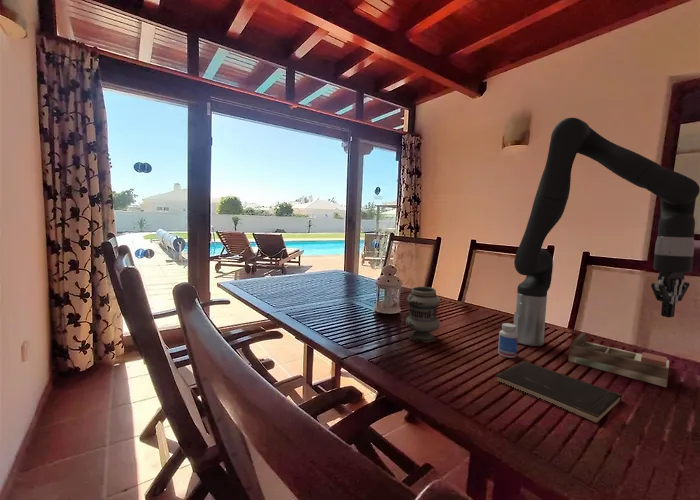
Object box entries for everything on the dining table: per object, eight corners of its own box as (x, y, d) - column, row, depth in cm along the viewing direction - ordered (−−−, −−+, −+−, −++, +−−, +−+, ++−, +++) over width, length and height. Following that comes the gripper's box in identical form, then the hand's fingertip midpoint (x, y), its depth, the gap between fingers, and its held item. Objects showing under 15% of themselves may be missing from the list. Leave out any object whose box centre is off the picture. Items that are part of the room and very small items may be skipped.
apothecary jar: (403, 341, 116) (405, 290, 114) (406, 330, 128) (407, 284, 126) (439, 345, 113) (441, 293, 112) (438, 333, 125) (440, 286, 123)
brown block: (640, 370, 92) (641, 356, 91) (641, 365, 95) (642, 352, 95) (664, 377, 88) (666, 362, 88) (665, 371, 92) (666, 357, 91)
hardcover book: (597, 426, 70) (597, 416, 70) (494, 382, 89) (495, 374, 89) (621, 402, 80) (622, 393, 80) (524, 367, 98) (524, 360, 98)
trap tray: (568, 361, 102) (569, 345, 102) (580, 346, 115) (582, 332, 115) (666, 387, 87) (668, 368, 86) (668, 366, 100) (670, 350, 99)
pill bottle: (518, 359, 103) (520, 328, 102) (500, 357, 104) (502, 327, 103) (513, 352, 108) (515, 323, 108) (496, 350, 110) (498, 321, 109)
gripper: (676, 255, 84) (669, 322, 85) (706, 254, 88) (699, 318, 90) (641, 252, 91) (636, 315, 92) (670, 252, 95) (665, 311, 97)
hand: (667, 316), depth 91 cm, fingers closed
